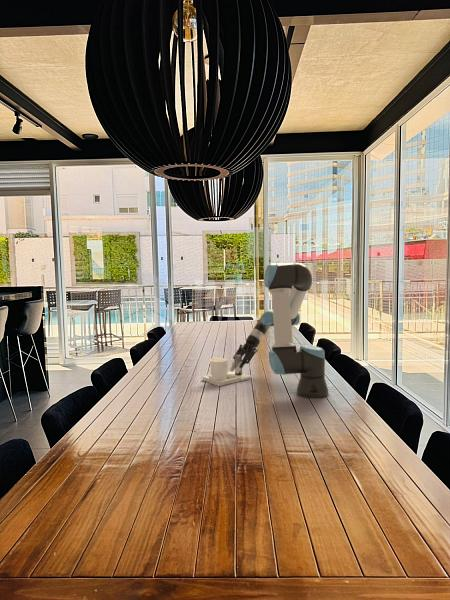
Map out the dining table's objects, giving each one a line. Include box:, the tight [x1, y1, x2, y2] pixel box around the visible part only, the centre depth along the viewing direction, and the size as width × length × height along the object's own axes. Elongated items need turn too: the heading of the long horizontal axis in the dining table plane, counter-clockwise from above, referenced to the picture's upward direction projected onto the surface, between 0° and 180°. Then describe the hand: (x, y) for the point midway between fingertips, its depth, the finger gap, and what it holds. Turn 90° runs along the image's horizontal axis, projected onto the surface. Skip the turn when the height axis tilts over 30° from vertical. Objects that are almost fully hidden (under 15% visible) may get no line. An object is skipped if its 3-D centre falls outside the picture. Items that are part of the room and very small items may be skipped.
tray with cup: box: [202, 354, 253, 387], centre depth 238 cm, size 16×22×12 cm
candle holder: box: [209, 357, 229, 381], centre depth 234 cm, size 10×10×12 cm
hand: (233, 371), depth 241 cm, fingers open, 4 cm apart
